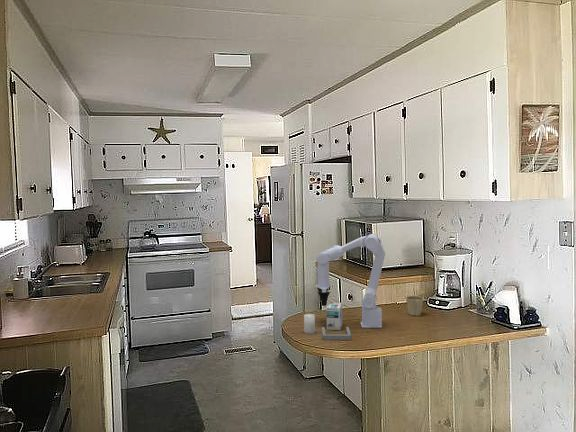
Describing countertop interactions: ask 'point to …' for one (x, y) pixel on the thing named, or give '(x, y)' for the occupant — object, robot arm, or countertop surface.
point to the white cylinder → (309, 323)
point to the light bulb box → (334, 316)
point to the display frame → (336, 337)
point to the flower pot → (414, 305)
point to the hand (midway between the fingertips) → (323, 303)
